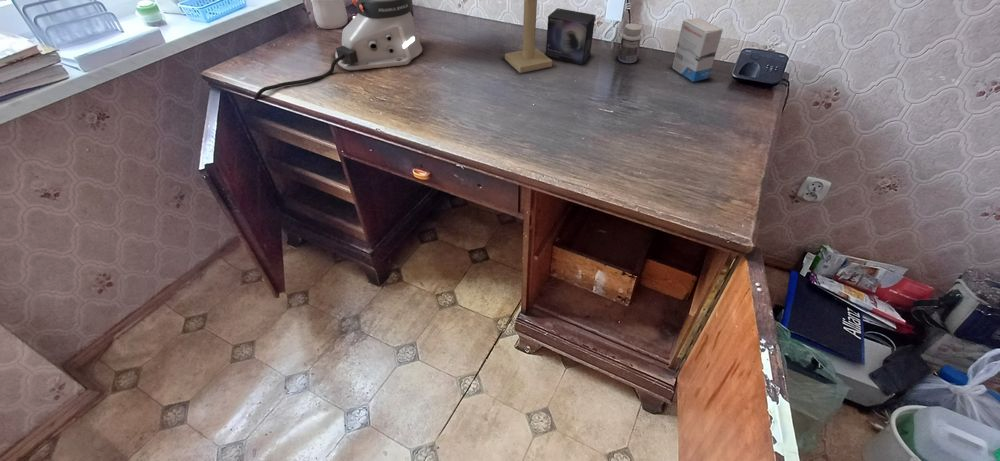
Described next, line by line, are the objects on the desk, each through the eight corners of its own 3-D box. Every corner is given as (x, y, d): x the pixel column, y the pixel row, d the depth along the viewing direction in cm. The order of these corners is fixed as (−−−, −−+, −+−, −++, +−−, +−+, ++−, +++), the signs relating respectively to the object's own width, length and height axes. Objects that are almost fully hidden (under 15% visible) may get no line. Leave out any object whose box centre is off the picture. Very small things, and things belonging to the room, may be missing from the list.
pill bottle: (621, 54, 122) (627, 21, 117) (639, 58, 121) (645, 24, 115) (615, 61, 119) (620, 27, 114) (632, 65, 118) (639, 31, 112)
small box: (543, 57, 121) (546, 15, 114) (553, 48, 125) (556, 7, 118) (582, 65, 118) (587, 22, 110) (591, 55, 122) (596, 14, 114)
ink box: (709, 79, 112) (725, 29, 104) (691, 82, 110) (706, 32, 102) (686, 64, 118) (700, 16, 109) (669, 68, 116) (682, 19, 108)
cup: (325, 32, 134) (316, -4, 127) (310, 23, 140) (300, -12, 133) (355, 24, 139) (347, -12, 132) (338, 15, 144) (330, -19, 137)
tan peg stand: (520, 73, 115) (521, 6, 104) (504, 59, 120) (505, -6, 110) (552, 66, 117) (557, 1, 107) (535, 53, 123) (538, -11, 112)
